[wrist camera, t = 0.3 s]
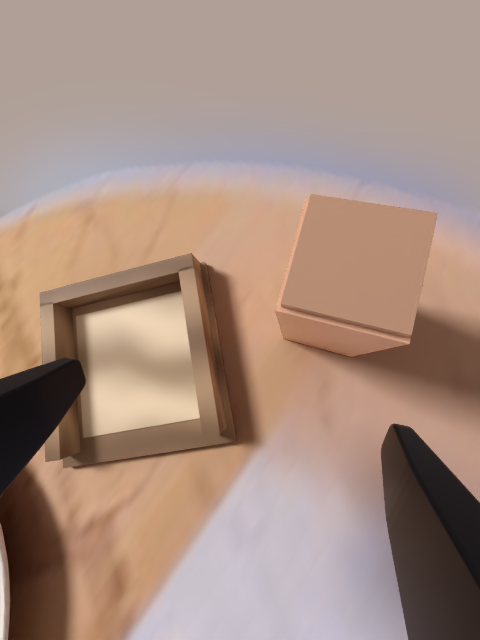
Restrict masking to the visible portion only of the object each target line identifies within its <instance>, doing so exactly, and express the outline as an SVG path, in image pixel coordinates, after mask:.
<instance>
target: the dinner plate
mask: <svg viewBox="0 0 480 640" xmlns="http://www.w3.org/2000/svg"><path fill="white" fill-rule="evenodd" d="M9 619H10V582H9V568H8V559H7V552H6V547H5V542H4V536H3V531H2V527H1V524H0V640H8V632H9Z"/></svg>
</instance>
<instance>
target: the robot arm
mask: <svg viewBox="0 0 480 640" xmlns="http://www.w3.org/2000/svg"><path fill="white" fill-rule="evenodd" d="M85 384H86V377H85V374H84V371H83V367H82V364H81V362H80V361H79V360H78V359H75V358H70V357H64V358H61V359H58V360H55V361H52V362H49V363H46V364H43V365H40V366H37V367H34V368H31V369H28V370H25V371H22V372H19V373H17V374H14V375H11V376H8V377H5V378H2V379H0V497H1V496H2V494H3V493H4V492H5V491H6V489H7V488H8V487H9V486H10V485H11V483H12V482H13V481H14V480H15V478H16V477H17V476H18V475H19V474H20V472H21V471H22V470H23V469H24V467H25V466H26V465H27V464H28V463H29V461H30V460H31V459H32V458H33V456H34V455H35V454H36V453H37V452H38V450H39V449H40V448H41V447H42V445H43V444H44V443H45V442H46V441H47V439H48V438H49V437H50V436H51V434H52V433H53V432H54V430H55V429H56V428H57V426H58V425H59V424H60V422H61V421H62V419H63V418H64V416H65V415H66V413H67V412H68V410H69V409H70V407H71V406H72V405H73V403H74V402H75V400H76V399H77V397H78V396H79V394H80V393H81V391H82V390H83V388H84V387H85ZM381 461H382V474H383V487H384V500H385V512H386V521H387V527H388V533H389V539H390V544H391V549H392V555H393V560H394V565H395V571H396V576H397V581H398V587H399V592H400V597H401V603H402V608H403V613H404V619H405V624H406V629H407V635H408V640H480V502H479V501H478V500H477V499H476V498H475V497H474V496H473V495H472V494H471V492H470V491H469V490H468V489H467V488H466V487H465V486H464V485H463V484H462V483H461V482H460V480H459V479H458V478H457V477H456V476H455V475H454V474H453V473H452V472H451V471H450V469H449V468H448V467H447V466H446V465H445V464H444V463H443V462H442V461H441V460H440V459H439V457H438V456H437V455H436V454H435V453H434V452H433V451H432V450H431V449H430V448H429V446H428V445H427V444H426V443H425V442H424V441H423V440H422V439H421V438H420V437H419V436H418V434H417V433H416V432H415V431H414V430H413V429H412V428H410V427H408V426H404V425H399V424H391V426H390V427H389V429H388V432H387V434H386V437H385V439H384V441H383V444H382V448H381Z"/></svg>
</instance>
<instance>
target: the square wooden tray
mask: <svg viewBox="0 0 480 640" xmlns="http://www.w3.org/2000/svg"><path fill="white" fill-rule="evenodd" d="M40 317H41V346H42V365H43V364H46V363H49V362H52V361H55V360H58V359H61V358H64V357H70V358H75V359H78V360H79V361H80V362H81V364H82V367H83V371H84V374H85V377H86V384H85V387H84V388H83V390H82V391H81V393H80V394H79V396H78V397H77V399H76V400H75V402H74V403H73V405H72V406H71V407H70V409H69V410H68V412H67V413H66V415H65V416H64V418H63V419H62V421H61V422H60V424H59V425H58V426H57V428H56V429H55V430H54V432H53V433H52V434H51V436H50V437H49V438H48V439H47V441H46V442H45V461H46V462H49V461H55V460H61V459H63V468H68V467H74V466H81V465H87V464H94V463H100V462H107V461H113V460H120V459H126V458H133V457H139V456H146V455H152V454H159V453H165V452H172V451H178V450H185V449H191V448H198V447H204V446H211V445H217V444H224V443H230V442H235V441H236V435H235V429H234V423H233V417H232V411H231V405H230V399H229V393H228V388H227V382H226V376H225V370H224V364H223V358H222V352H221V346H220V340H219V334H218V328H217V322H216V316H215V310H214V304H213V299H212V293H211V287H210V281H209V275H208V269H207V264H206V263H205V262H202V263H200V262H199V261H198V260H197V259H196V258H195V257H194V256H193V254H192V253H190V254H186V255H183V256H179V257H175V258H171V259H167V260H163V261H160V262H156V263H152V264H148V265H144V266H140V267H137V268H133V269H129V270H125V271H121V272H117V273H114V274H110V275H106V276H102V277H98V278H94V279H91V280H87V281H83V282H79V283H75V284H71V285H68V286H64V287H60V288H56V289H52V290H48V291H45V292H41V293H40Z"/></svg>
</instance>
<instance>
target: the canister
mask: <svg viewBox="0 0 480 640" xmlns="http://www.w3.org/2000/svg"><path fill="white" fill-rule="evenodd" d="M437 215H438V213H434V212H427V211H421V210H414V209H407V208H400V207H394V206H387V205H380V204H374V203H367V202H360V201H353V200H347V199H340V198H333V197H326V196H320V195H313V194H311V195H310V198H306V201H305V204H304V208H303V212H302V215H301V219H300V222H299V226H298V230H297V233H296V237H295V240H294V244H293V248H292V251H291V255H290V258H289V262H288V266H287V269H286V273H285V276H284V280H283V284H282V287H281V291H280V294H279V298H278V301H277V305H276V309H275V312H276V316H277V319H278V322H279V326H280V329H281V332H282V336H283V339H287V340H291V341H294V342H298V343H302V344H305V345H309V346H313V347H317V348H320V349H324V350H328V351H331V352H335V353H339V354H343V355H346V356H350V357H353V356H357V355H362V354H366V353H371V352H375V351H380V350H384V349H389V348H393V347H398V346H402V345H407V344H410V340H411V335H412V331H413V326H414V322H415V317H416V312H417V308H418V303H419V299H420V294H421V289H422V285H423V280H424V275H425V271H426V266H427V261H428V257H429V252H430V248H431V243H432V238H433V234H434V229H435V224H436V220H437Z"/></svg>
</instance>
